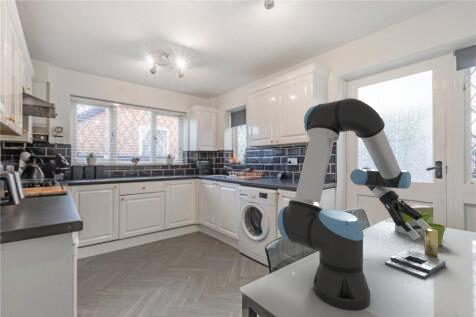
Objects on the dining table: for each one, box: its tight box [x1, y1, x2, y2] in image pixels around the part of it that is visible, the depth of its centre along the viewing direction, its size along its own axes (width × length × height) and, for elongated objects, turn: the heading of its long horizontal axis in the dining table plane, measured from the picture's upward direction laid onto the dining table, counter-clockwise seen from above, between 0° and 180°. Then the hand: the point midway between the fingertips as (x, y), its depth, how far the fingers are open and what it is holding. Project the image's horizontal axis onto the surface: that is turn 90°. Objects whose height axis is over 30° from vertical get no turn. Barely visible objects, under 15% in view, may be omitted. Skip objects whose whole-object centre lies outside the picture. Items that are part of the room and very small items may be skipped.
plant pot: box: [423, 222, 447, 246], centre depth 106 cm, size 9×9×9 cm
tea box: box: [394, 203, 435, 236], centre depth 122 cm, size 15×10×15 cm, turn 105°
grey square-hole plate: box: [384, 258, 442, 280], centre depth 82 cm, size 14×12×1 cm
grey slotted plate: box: [390, 249, 447, 273], centre depth 84 cm, size 14×12×2 cm
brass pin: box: [424, 228, 439, 259], centre depth 90 cm, size 4×4×11 cm
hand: (424, 235), depth 93 cm, fingers open, 13 cm apart
